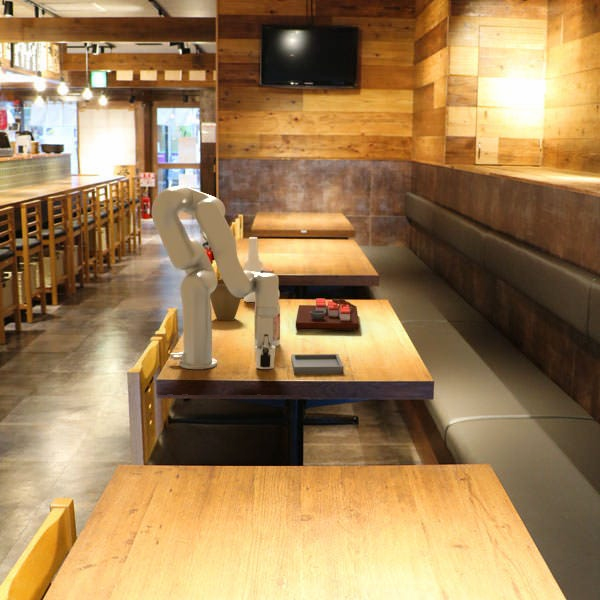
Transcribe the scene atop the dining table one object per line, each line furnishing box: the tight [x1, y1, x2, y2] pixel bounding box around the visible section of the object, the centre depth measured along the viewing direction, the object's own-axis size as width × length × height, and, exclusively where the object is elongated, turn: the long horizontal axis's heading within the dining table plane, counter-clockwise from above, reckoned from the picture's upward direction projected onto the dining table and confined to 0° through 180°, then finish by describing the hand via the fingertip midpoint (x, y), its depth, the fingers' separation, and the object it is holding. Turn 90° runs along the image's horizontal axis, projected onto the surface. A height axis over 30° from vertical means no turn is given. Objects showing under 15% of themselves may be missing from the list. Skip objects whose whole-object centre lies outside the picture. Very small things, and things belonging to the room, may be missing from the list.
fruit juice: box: [254, 268, 281, 347], centre depth 305 cm, size 9×9×28 cm
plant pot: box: [210, 278, 242, 322], centre depth 349 cm, size 15×15×16 cm
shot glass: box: [254, 344, 277, 370], centre depth 275 cm, size 7×7×7 cm
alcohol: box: [243, 236, 264, 303], centre depth 386 cm, size 9×9×30 cm
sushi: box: [295, 298, 360, 331], centre depth 342 cm, size 25×35×12 cm
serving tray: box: [290, 353, 345, 376], centre depth 277 cm, size 16×16×2 cm
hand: (264, 363), depth 276 cm, fingers closed on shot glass, 6 cm apart
